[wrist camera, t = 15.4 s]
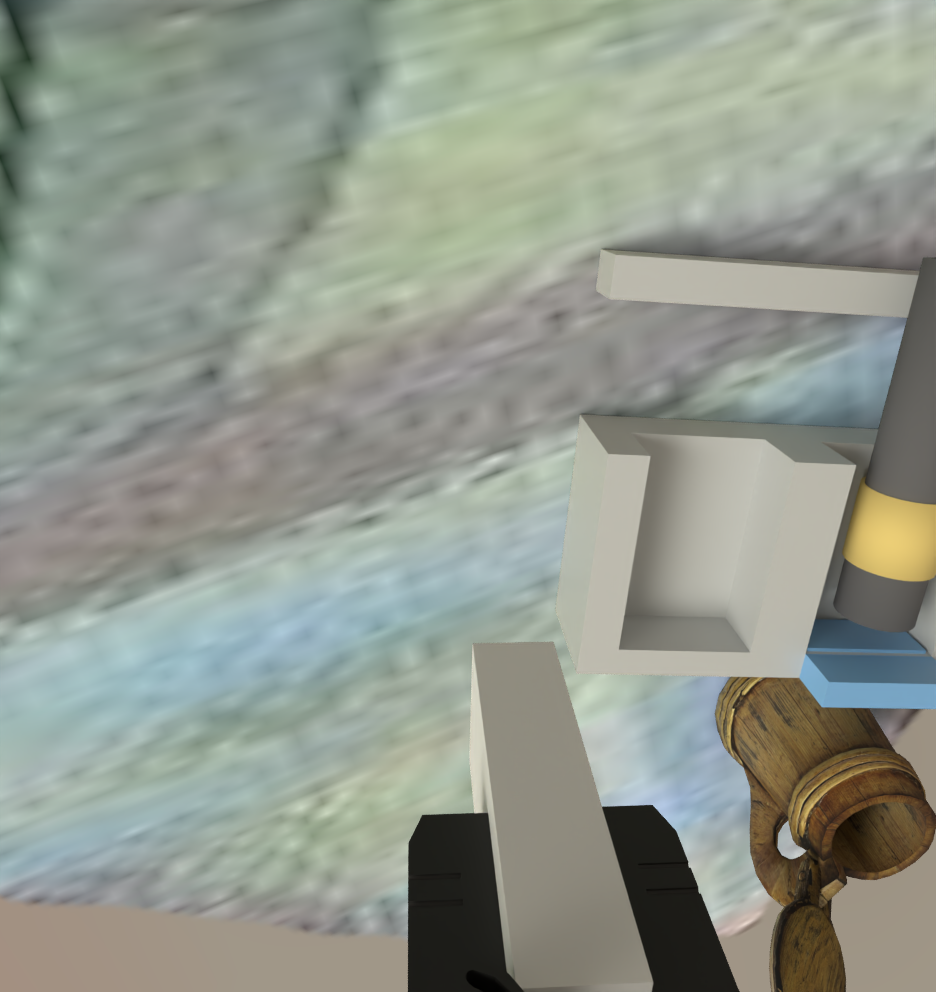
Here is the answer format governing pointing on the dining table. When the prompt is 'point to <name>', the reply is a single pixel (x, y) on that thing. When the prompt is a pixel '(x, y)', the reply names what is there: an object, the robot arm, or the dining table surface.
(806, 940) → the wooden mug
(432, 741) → the dining table surface
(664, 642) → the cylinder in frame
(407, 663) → the dining table surface
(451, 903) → the robot arm
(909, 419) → the rod
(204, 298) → the dining table surface
